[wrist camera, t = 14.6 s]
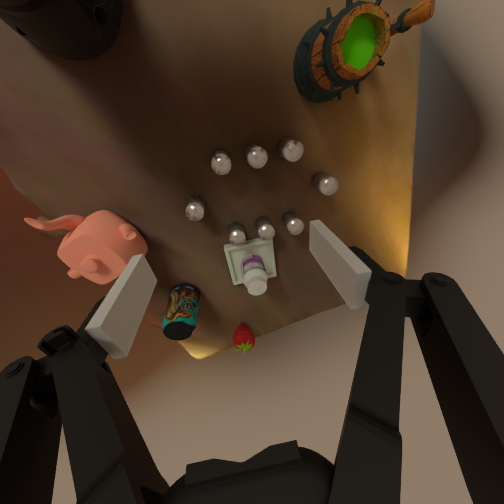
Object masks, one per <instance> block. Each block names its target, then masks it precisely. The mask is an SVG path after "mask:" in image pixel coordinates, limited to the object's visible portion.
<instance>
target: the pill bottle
mask: <svg viewBox="0 0 504 504" xmlns="http://www.w3.org/2000/svg"><path fill="white" fill-rule="evenodd" d="M240 264H241V271H242V278H243V283H244V285H245V286H246V287H247V289H248V292H249V293H250V294H252V295H261V294H263V293H264V292H265V291H266V290H267V284H266V283H267V280H268V276H267V273H266V270H265V266H264V263H263V260H262V258H261V256H260V255H258V254H256V253H248V254H246V255H245V256H244V257H243V258H242V259H241V262H240Z"/></svg>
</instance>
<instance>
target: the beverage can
mask: <svg viewBox="0 0 504 504" xmlns="http://www.w3.org/2000/svg"><path fill="white" fill-rule="evenodd" d="M199 297H200V292H199V290H198V289H197V288H196V287H195V286H194V285H192V284H188V283H183V284H179V285H176V286H175V287H174V288H173V289H172V291H171V294H170V298H169V301H168V304H167V308H166V311H165V315H164V318H163V322H162V327H163V329H164V330H163V332H164V335H165V336H166V337H167V338H169V339H172V340H184V339H187V338H188V337H190V336H191V334H192V331H193V330H194V329H195V327H196V322H197V313H198V305H199Z"/></svg>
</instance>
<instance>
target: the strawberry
mask: <svg viewBox="0 0 504 504" xmlns="http://www.w3.org/2000/svg"><path fill="white" fill-rule="evenodd" d="M233 342H234V345H235V346H236V347H237V348H238V349H236V350H237V351H238V350H239V351H240V350H242V351H243V352H245V351H248V352H250V349H251V348H253V346H254V344H255V337H254V335H253V333H252V331H251V330H250V329H249V327H248V326H246V325H245V324H244V323H241V324H240V325H239V326H238V327H237V329H236V330H235V332H234V335H233Z"/></svg>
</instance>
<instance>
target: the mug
mask: <svg viewBox="0 0 504 504" xmlns="http://www.w3.org/2000/svg"><path fill="white" fill-rule="evenodd" d="M381 1H382V0H377V1H376V2H375V3H374V4H373V3H371V2H364V1H357V2H355V3H354V4H353V2H352V0H346V8H344V9H343V10H341V11H340V12H339V13H338V14H337V16H335V17H332V15H331V11H330V7H329V8H327V15H326V19H323V20H319V21H318V22H317V23H316V24H315V25H313V26H312V27H311V28H310V29H309V30H308V31H307V32H306V33H305V34H304V36H303V38H302V40H301V42H300V43H299V45H298V47H297V50H296V55H295V59H294V64H293V65H294V80H295V82H296V85H297V87H298V90H299V92H300V93H301V94H302V95H303V96H304V97H305V98H306V99H307V100H309V101H312V102H316V103H320V102H325V101H329V100H332V99H333V98H334V97H336V96H337V97H338V99H339V100H341V92H342V91H343V90H344V89H346V88H349V87H351V86H354V89H355V91H356V94H358V93H359V82H361V81H363V80H365V78H366V77H367V76H368V75H369V74H370V73H371V72H372V70H373V69H374V68H375V67H376V65H379V66H384V64H385V63H384V62H383V61H382V60H381V59H380V58H381V57H382V56H383V54H384V52H385V51H386V49H387V47H388V45H389V43H390V37H391V36H392V35H394V34H396V33H404V32H406V31H408V30H409V29H410V28H411V26H412V25H416V24H421V23H423V22H425V21H427V20H429V19H430V18H431V17H432V16H433V13H434V7H435V0H422V1H421V2H419V3H418V4H417V5H416V6H415V7H414V8H412V9H410V8H408V9H406V10H405V11H403V12H402V13H401V14H400V15H399V17H398V18H397V19H395V20H393V21H391V22H389V14H388V13H387V12H385V11H384V10H383V9H382V8H381V7H379V6H380V3H381Z"/></svg>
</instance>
